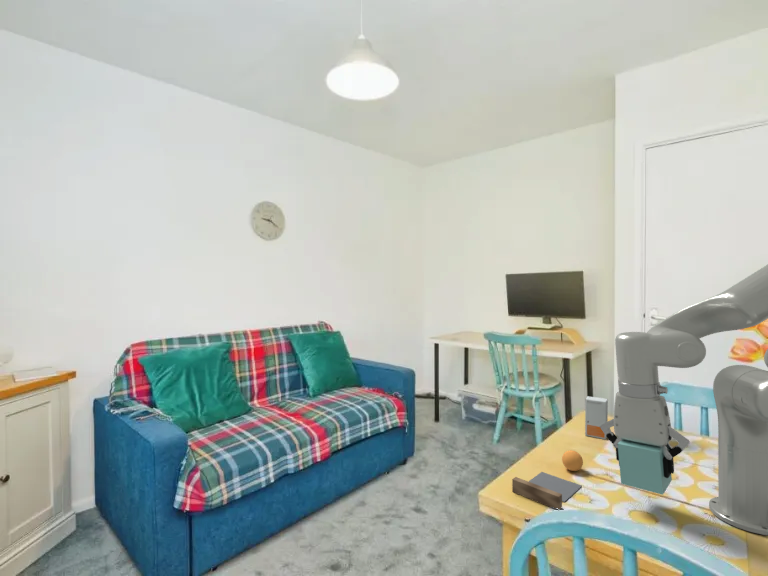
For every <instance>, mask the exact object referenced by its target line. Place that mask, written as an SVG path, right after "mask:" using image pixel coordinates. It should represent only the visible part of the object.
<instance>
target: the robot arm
mask: <svg viewBox="0 0 768 576" xmlns="http://www.w3.org/2000/svg"><path fill="white" fill-rule="evenodd" d="M766 320H768V264H766V265H764V266H762V267H761V268H760V269H758V270H757V271H755V272H754V273H751V274H750V275H748V276H747V277H745V278H744V279H742V280H740V281H739V282H737V283H736V284H733V285H732V286H731V287H729V288H727V289H726V290H723V291H722V292H720V293H719V294H716V295H713V296H711V297H708V298H705V299H703V300H702V301H700V302H696V303H695V304H692V305H690V306H687V307H685V308H683V309H681V310H679V311H677V312H675V313H673V314H672V315H670V316H668V317H666V318H665V319H663V320H662V321H660V322H659V323H657V324H655V325H654V326H652V327H651V328H650V329H649V330H647V332H643V331H642V332H641V331H625V332H621V333H618V334H616V336H615V340H614V341H615V342H614V343H615V344H614V345H615V356H616V358H615V359H616V369H617V370H616V371H617V373H616V374H617V385H618V386H617V387H618V391H617V393H616V394H615V399H614V408H613V418H612V419H610V420H608V422H606V423H604V424H602V425H601V426H600V428H601V430H602V431H603V432H604V434H605V435H606V437H607V438H606V439H608V441H609V442H610V443H611V444H612V446H613V448H615V457H616V461H618V462H619V454H618V443H619V442H620V441H624V440H628V441H633V442H638V443H643V444H648V445H653V446H658V447H659V448H662V453H663V454H664V458H663V470H664V477H665V478H669V476H670V475H671V476H672V474H674V473H675V463H674V458H676V456H678V455H680V454H681V453H682V452H683V451H684V450H685V449H686V448H687V447H688V446H689V444H690V443H691V442H690V440H689V439H688V438H687V437H685V436H684V435H682V434H681V433H679V432H678V431H677V430H675V429H674V428H673V427H672V423H671V417H670V411H669V408H668V403H667V401H666V398H665V396H663V395H661V394H665V395H666V394H668V392H669V390H668V387H666V386H663V385H662V384H661V382H660V380H659V367H667V368H678V369H688V368H693V367H696V366H698V365H700V364H701V363H702V362H703V361H704V360H705V357H706V356H707V349H706V345H705V343H703V341H702V340H701V339H702V338H704V337H705V338H706V337H707V336H711V335H713V334H717V333H723V332H724V333H725V332H732V331H738V330H743V329H748V328H752V327H755V326H758V325H760V324H761V323H763V322H765V321H766ZM763 360H764V364H765V366H766V367H767V368H768V348H767V349H766V350H765V353H764V356H763ZM712 385H713V386H712V392H713V397H714V403H715V406H716V413H717V425H718V428H717V430H718V431H717V434H718V437H717V439H718V440H717V441H718V444H717V445H718V446H717V449H718V451H717V452H718V457H717V458H718V459H717V460H718V461H717V462H718V465H717V466H718V469H717V470H718V474H717V475H718V476H717V477H718V481H717V483H718V486H717V487H718V489H717V490H718V491H717V492H718V494H717V495H718V496H716V497H713V498H711V499H710V500H708V501H709V502H708V507H709V510H710V512H711V513H712V514H713V515H714V516H716V517H717V518H718V519H720V520H721V521H722V522H725V523H726V524H729V525H731V526H734V527H735V528H737V529H740V530H744V531H747V532H750V533H754V534H758V535H762V536H768V370H765V369H761V368H758V367H755V366H751V365H745V364H735V365H733V364H732V365H729V366H727V367H724V368H722V369H721V370H720V371H719V372H718V373H717V374H716V376H715V377H714V379H713V384H712ZM612 427H613V430H614V432H613V431H612V430H611V428H612ZM672 439H674V440H675V441H676V442H677V444H676V445H675V446H673V447H672V446H671V444H670V443H668V442H670V441H671V440H672ZM618 467H620V465H619V464H618Z"/></svg>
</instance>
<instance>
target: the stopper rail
mask: <svg viewBox="0 0 768 576" xmlns="http://www.w3.org/2000/svg"><path fill="white" fill-rule="evenodd" d="M511 481H512V483H511V486H512V488H511V489H512V492H513V493H514V494H516V495H520V496H523V497H525V498H527V499H530V500H531V501H534V502H537V503H539V504H542V505H544V506H546V507H549V508H551V507H554V508H558V509H560V510H561V509H562V508H563V502H562V494H560V493H557V492H555V491H552V490H549V489H547V488H544V487H541V486H539V485H536V484H533V483H531V482H528V481H529V480H525V479H523V478H519V477H517V476H515V477H513V478H512V480H511ZM561 507H562V508H561ZM554 508H553V509H554Z"/></svg>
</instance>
